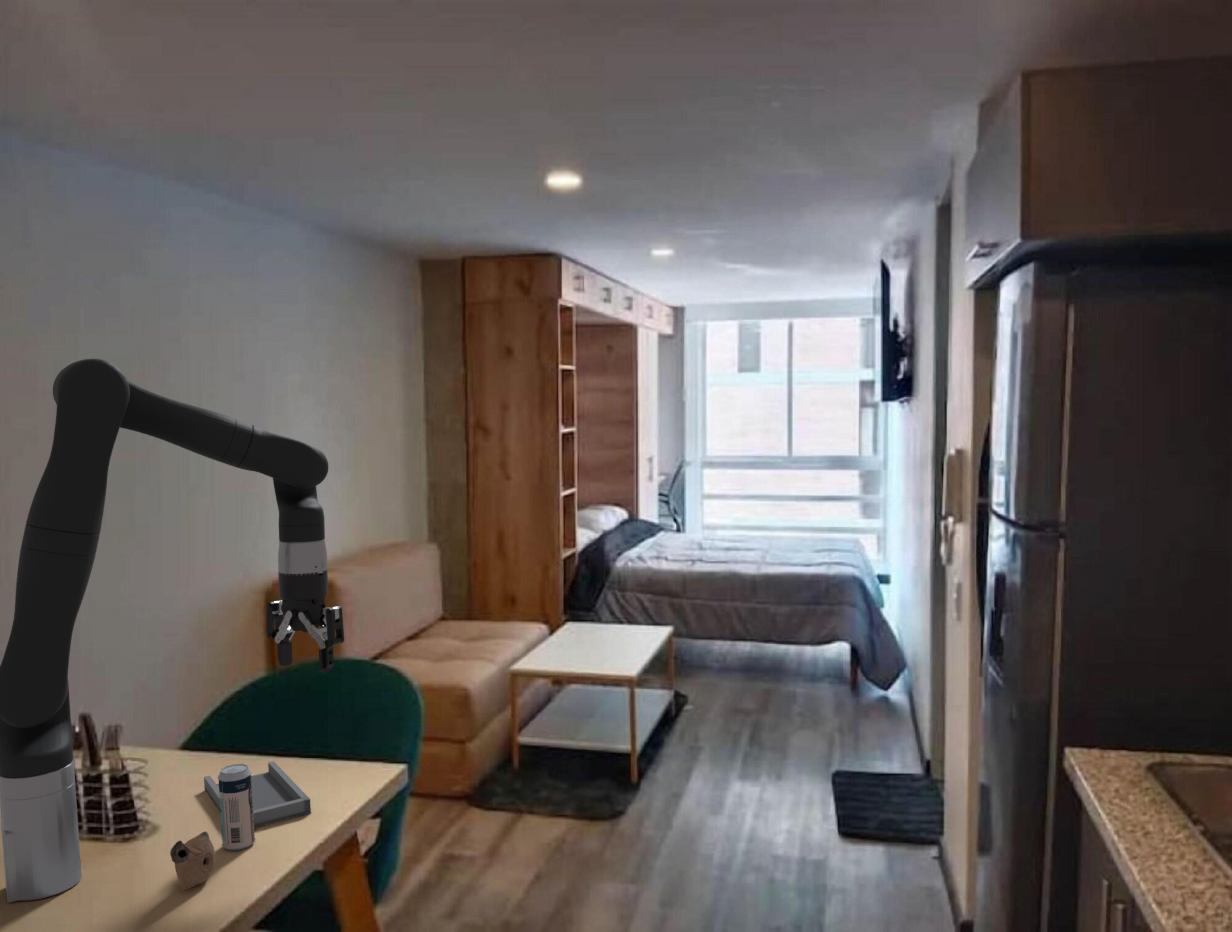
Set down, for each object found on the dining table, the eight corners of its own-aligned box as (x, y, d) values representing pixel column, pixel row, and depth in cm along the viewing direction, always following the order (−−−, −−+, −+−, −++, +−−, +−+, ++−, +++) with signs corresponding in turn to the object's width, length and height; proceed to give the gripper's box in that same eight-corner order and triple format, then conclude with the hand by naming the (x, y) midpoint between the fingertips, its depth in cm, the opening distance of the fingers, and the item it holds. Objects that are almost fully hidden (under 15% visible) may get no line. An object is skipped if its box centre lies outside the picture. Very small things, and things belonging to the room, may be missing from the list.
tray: (234, 833, 155) (233, 818, 155) (204, 790, 173) (203, 776, 173) (310, 813, 162) (310, 799, 161) (274, 773, 180) (273, 761, 180)
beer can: (262, 842, 151) (257, 766, 150) (235, 855, 147) (230, 776, 146) (242, 836, 154) (237, 760, 153) (215, 848, 150) (210, 771, 149)
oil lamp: (188, 904, 133) (185, 846, 132) (160, 903, 133) (157, 846, 133) (223, 872, 142) (219, 818, 141) (196, 872, 142) (193, 818, 142)
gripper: (252, 568, 158) (255, 668, 158) (320, 574, 151) (322, 678, 152) (287, 562, 164) (289, 658, 165) (353, 567, 158) (355, 667, 159)
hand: (305, 667), depth 159 cm, fingers open, 8 cm apart
